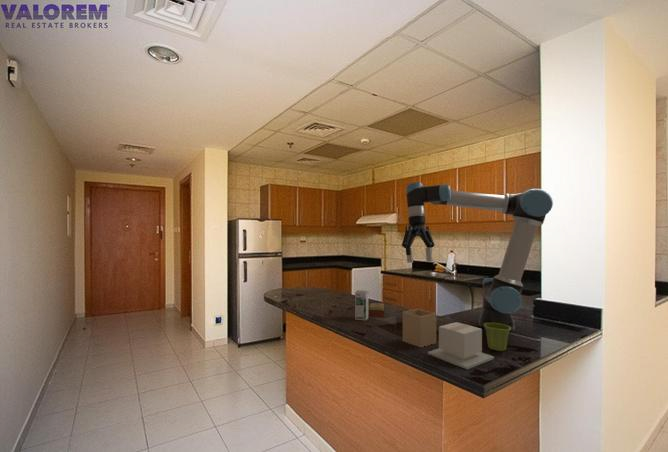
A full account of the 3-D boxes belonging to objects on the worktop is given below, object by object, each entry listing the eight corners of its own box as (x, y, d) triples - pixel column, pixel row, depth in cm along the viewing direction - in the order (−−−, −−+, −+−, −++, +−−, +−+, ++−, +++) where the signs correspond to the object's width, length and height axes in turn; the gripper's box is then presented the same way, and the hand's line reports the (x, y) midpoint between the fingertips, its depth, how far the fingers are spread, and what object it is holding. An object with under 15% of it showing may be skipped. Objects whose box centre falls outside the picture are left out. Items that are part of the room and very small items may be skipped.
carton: (384, 310, 185) (384, 303, 186) (384, 318, 170) (384, 309, 170) (369, 310, 187) (369, 302, 187) (368, 317, 171) (368, 309, 171)
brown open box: (418, 337, 138) (418, 308, 138) (436, 343, 130) (436, 313, 130) (402, 341, 132) (402, 311, 133) (420, 347, 125) (420, 316, 125)
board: (454, 345, 127) (454, 343, 127) (494, 358, 114) (494, 356, 114) (427, 354, 118) (427, 351, 118) (467, 369, 105) (467, 367, 105)
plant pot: (502, 344, 129) (502, 322, 129) (516, 353, 120) (516, 329, 120) (479, 344, 129) (479, 322, 129) (491, 353, 120) (491, 329, 120)
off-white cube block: (456, 347, 124) (456, 321, 124) (482, 355, 115) (481, 328, 115) (438, 352, 118) (438, 326, 118) (464, 362, 109) (464, 333, 109)
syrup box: (354, 319, 164) (354, 291, 164) (358, 317, 170) (358, 289, 170) (365, 321, 162) (365, 292, 162) (368, 318, 168) (368, 290, 168)
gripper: (427, 218, 160) (430, 261, 158) (391, 216, 146) (395, 263, 143) (439, 216, 154) (443, 260, 152) (404, 213, 140) (408, 262, 137)
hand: (420, 262), depth 148 cm, fingers open, 13 cm apart
